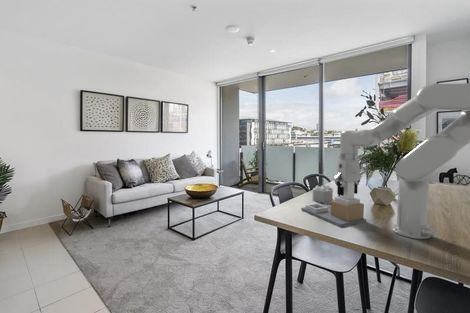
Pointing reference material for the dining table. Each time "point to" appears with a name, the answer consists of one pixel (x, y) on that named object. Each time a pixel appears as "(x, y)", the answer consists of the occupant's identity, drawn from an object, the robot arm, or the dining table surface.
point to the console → (338, 211)
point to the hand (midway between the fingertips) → (347, 193)
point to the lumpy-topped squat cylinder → (322, 194)
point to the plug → (348, 191)
